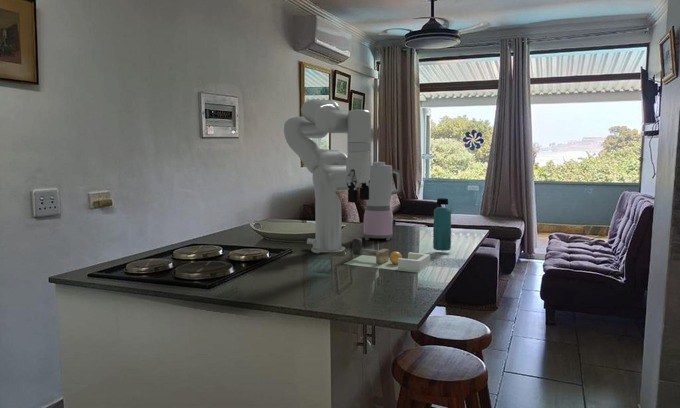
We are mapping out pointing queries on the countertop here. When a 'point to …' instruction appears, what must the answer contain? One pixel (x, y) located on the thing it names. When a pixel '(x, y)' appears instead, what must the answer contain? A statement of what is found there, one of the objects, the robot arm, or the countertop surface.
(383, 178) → the blender
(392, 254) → the ball
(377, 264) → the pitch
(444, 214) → the beverage bottle
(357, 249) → the rod
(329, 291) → the countertop surface
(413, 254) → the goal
